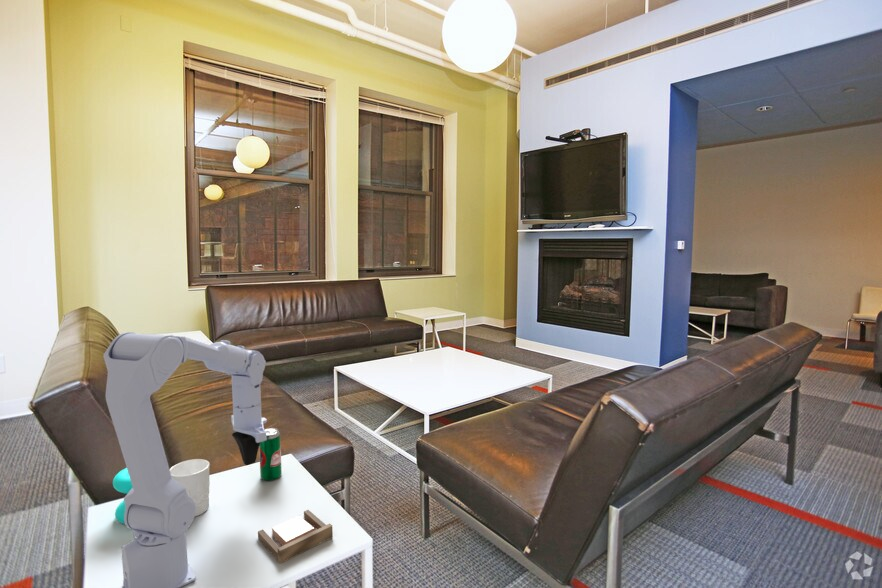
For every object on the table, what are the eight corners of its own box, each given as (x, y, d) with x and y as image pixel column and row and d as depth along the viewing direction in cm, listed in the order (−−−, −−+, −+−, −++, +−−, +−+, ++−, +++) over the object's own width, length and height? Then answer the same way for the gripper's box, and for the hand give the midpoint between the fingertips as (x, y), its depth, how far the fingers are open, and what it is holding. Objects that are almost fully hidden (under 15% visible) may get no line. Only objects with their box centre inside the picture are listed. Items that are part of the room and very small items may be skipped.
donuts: (171, 471, 99) (114, 487, 92) (173, 515, 100) (118, 533, 94) (163, 455, 106) (110, 468, 100) (165, 495, 108) (113, 511, 101)
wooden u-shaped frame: (280, 563, 85) (279, 550, 85) (258, 538, 92) (257, 526, 92) (332, 537, 93) (332, 525, 92) (308, 516, 100) (307, 505, 99)
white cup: (169, 508, 103) (166, 465, 101) (207, 496, 107) (205, 455, 106) (174, 525, 96) (171, 480, 95) (215, 512, 101) (212, 469, 100)
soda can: (274, 482, 113) (272, 436, 112) (256, 480, 114) (254, 434, 113) (285, 473, 118) (284, 428, 117) (267, 471, 119) (266, 426, 118)
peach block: (286, 551, 89) (286, 541, 89) (272, 537, 93) (272, 528, 93) (314, 537, 93) (313, 528, 93) (299, 524, 97) (299, 515, 97)
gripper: (279, 407, 98) (281, 468, 100) (252, 392, 108) (254, 446, 110) (246, 416, 93) (248, 479, 95) (220, 398, 103) (223, 456, 105)
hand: (249, 462), depth 102 cm, fingers closed
